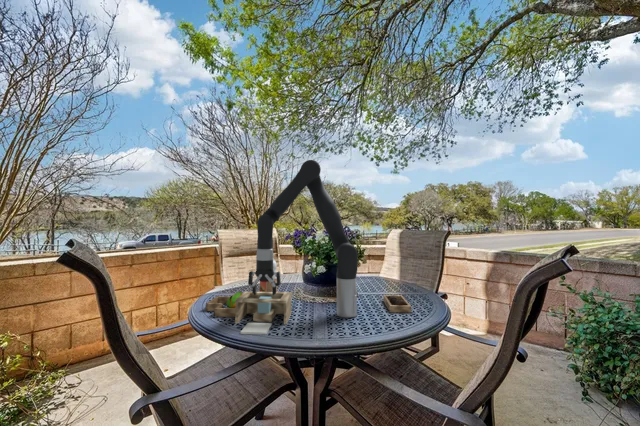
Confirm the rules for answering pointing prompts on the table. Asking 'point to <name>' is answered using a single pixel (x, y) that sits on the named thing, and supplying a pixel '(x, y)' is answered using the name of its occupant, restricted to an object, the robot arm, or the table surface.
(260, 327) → the tile
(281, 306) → the frame
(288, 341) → the table surface
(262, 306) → the block
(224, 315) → the corn rack
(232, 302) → the corn
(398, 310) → the wooden tray
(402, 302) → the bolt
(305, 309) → the table surface
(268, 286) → the fruit juice
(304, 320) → the table surface
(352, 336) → the table surface
